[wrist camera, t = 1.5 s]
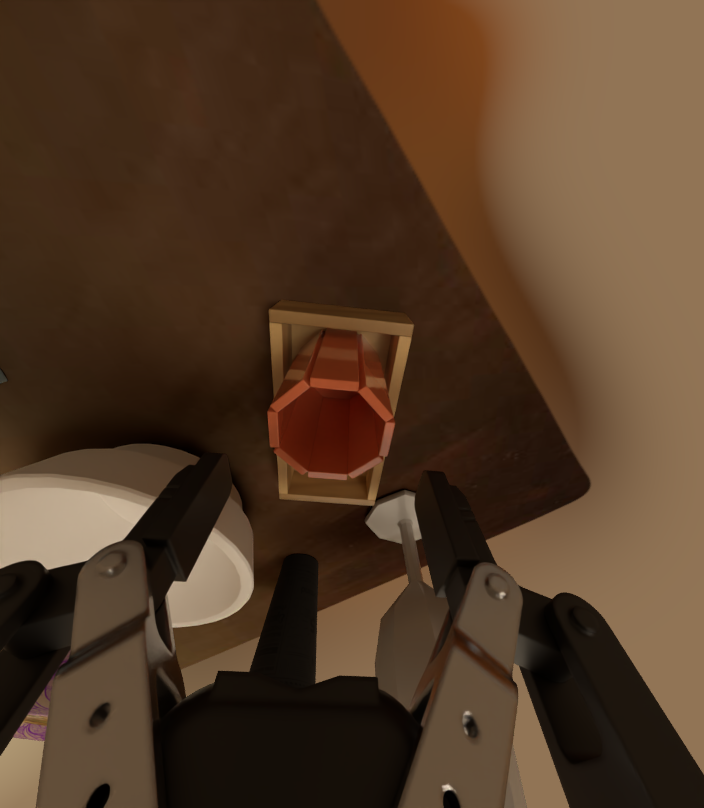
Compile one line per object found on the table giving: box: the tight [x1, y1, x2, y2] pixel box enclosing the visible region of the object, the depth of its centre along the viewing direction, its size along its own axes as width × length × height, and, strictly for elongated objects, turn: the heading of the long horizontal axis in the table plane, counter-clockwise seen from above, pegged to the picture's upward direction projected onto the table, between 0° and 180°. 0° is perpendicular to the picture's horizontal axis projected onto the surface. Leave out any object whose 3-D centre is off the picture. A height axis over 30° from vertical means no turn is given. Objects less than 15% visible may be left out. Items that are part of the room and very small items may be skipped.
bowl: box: [0, 444, 254, 627], centre depth 26 cm, size 22×22×8 cm
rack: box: [269, 300, 414, 506], centre depth 22 cm, size 17×9×3 cm, turn 174°
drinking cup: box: [249, 554, 318, 689], centre depth 28 cm, size 8×8×20 cm
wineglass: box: [365, 490, 527, 808], centre depth 22 cm, size 9×9×21 cm
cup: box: [267, 328, 395, 480], centre depth 17 cm, size 6×6×9 cm
